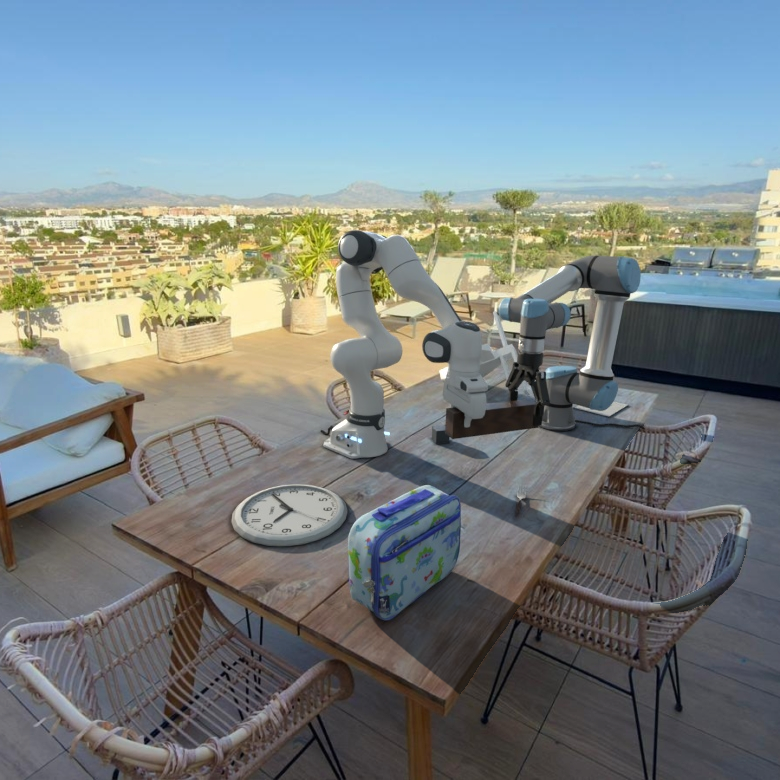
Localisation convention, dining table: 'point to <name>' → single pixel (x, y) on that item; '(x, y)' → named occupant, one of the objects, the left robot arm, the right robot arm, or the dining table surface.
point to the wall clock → (289, 515)
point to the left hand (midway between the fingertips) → (461, 422)
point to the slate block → (439, 435)
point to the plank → (492, 419)
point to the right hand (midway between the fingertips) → (524, 417)
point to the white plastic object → (494, 357)
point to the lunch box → (403, 549)
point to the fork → (520, 496)
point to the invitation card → (608, 412)
